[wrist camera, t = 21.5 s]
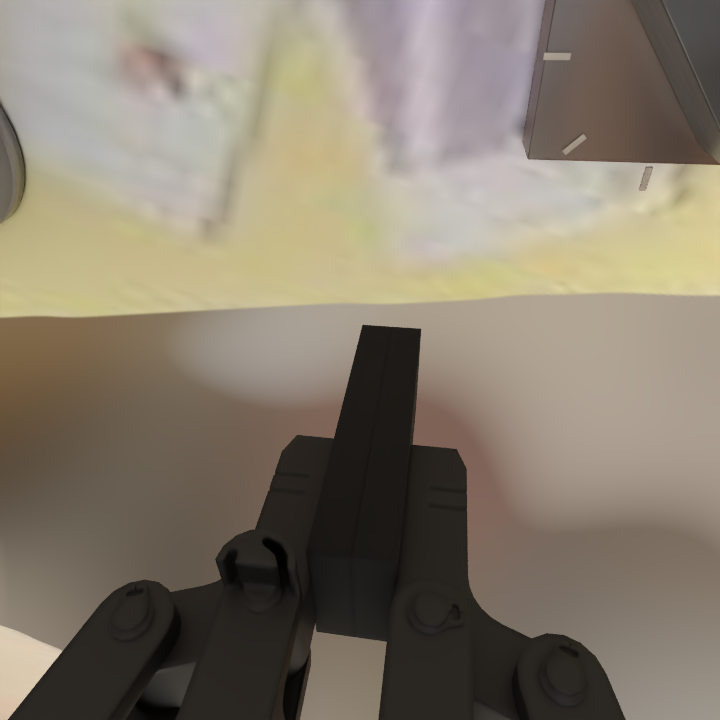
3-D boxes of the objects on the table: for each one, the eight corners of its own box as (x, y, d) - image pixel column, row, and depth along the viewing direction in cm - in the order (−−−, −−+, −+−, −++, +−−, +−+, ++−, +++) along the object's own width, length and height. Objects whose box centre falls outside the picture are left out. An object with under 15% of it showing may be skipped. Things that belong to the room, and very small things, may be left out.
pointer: (622, -18, 27) (658, -9, 22) (663, -51, 26) (711, -49, 21) (699, 147, 31) (745, 186, 26) (738, 124, 30) (793, 160, 25)
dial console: (516, 167, 36) (521, 186, 33) (562, -114, 27) (573, -121, 25) (744, 174, 34) (770, 195, 32) (870, -124, 26) (921, -132, 23)
